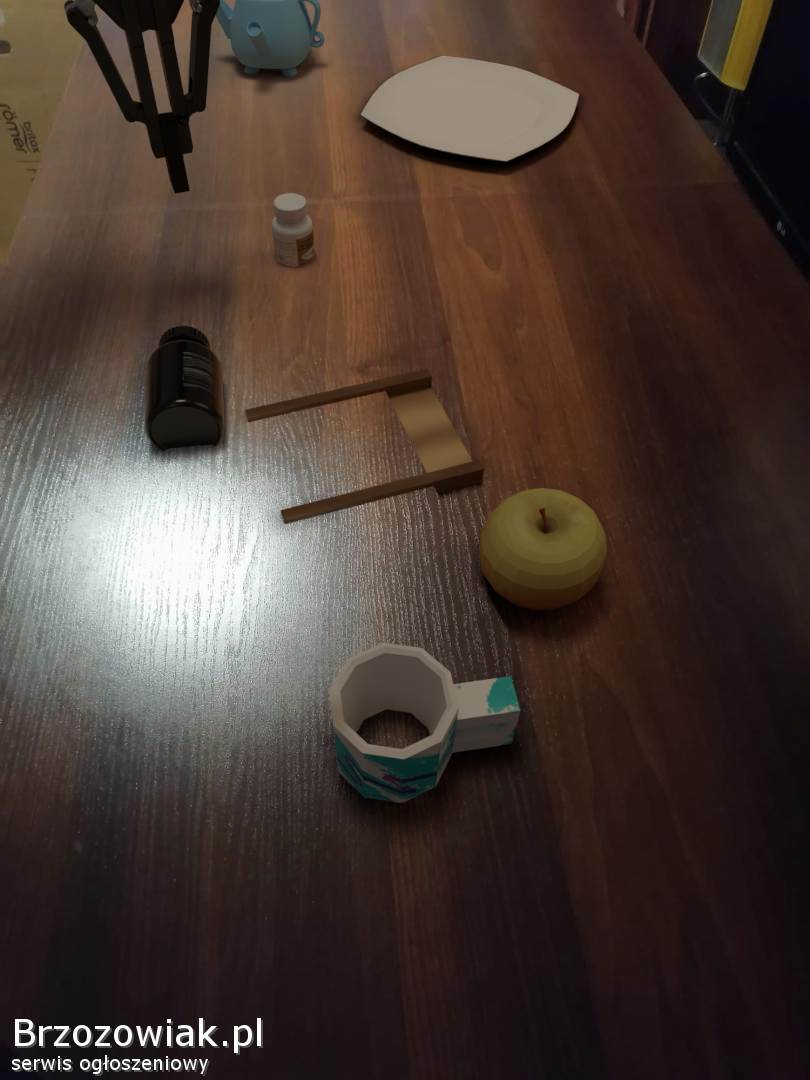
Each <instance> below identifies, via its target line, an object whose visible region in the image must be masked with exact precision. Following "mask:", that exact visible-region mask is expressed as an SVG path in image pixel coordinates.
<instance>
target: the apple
mask: <svg viewBox="0 0 810 1080" xmlns="http://www.w3.org/2000/svg"><path fill="white" fill-rule="evenodd" d="M607 550H608V549H607V533H606V532H605V530H604V527H603V525H602V523H601V522H600V520H599V518H598V516H597V514H596V512H595V511H594V510H593V509H592V508H591V506H588V505H587V504H586V503H585V502H584V501H583V500H582V499H581V498H579V497H578V496H575V495H573V494H571V493H568V492H567V491H566V492H565V491H563V490H561V489H555V488H554V489H553V488H547V487H540V488H539V487H538V488H532V489H526V490H522V491H519V492H517V493H515V494H513V495H511V496H509V497H507V498H504V499H503V501H502V502H500V503H499V504H498V505H497V506H496V507H495V509H493V510H492V512H491V513H490V514H489V515H488V516H487V517H486V518H485V521H484V524H483V526H482V530H481V533H480V536H479V541H478V557H479V564H480V571H481V573H482V574H483V575H484V577H485V579H486V580H487V581H488V583H489V585H490V586H491V587H492V589H493V590H494V591H495V592H496V594H498V595H499V596H500V597H502V598H504V600H506V601H508V602H509V603H510V604H512V605H515V606H518V607H521V608H524V609H528V610H531V611H555V610H556V609H560V608H563V607H565V606H569V605H571V604H573V603H575V602H577V601H579V600H580V599H581V598H582V597H583V596H585V595H586V594H587V593H589V592H590V591H592V589H593V588H594V587H595V585H596V583H597V581H598V579H599V577H600V575H601V572H602V570H603V568H604V566H605V564H606V559H607V554H608V551H607Z"/></svg>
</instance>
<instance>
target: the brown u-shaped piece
mask: <svg viewBox="0 0 810 1080" xmlns="http://www.w3.org/2000/svg"><path fill="white" fill-rule="evenodd" d="M432 381H433V376H432V373H431V372H430V370H429V368H425V369H419V370H416V371H411V372H405V373H403V374H398V375H394V376H389V377H385V378H384V377H383V378H379V379H376V380H370V381H366V382H363V383H357V384H354V385H353V384H352V385H349V386H345V387H340V388H336V389H331V390H327V391H322V392H318V393H313V394H309V395H304V396H299V397H296V398H291V399H288V400H282V401H277V402H274V403H269V404H265V405H264V404H263V405H261V406H256V407H250V408H247V409H244V413H245V416H246V419H247V421H248V422H249V423H250V422H253V421H258V420H263V419H266V418H270V417H275V416H280V415H283V414H288V413H294V412H298V411H302V410H307V409H310V408H314V407H319V406H323V405H327V404H328V405H329V404H332V403H337V402H340V401H341V402H342V401H345V400H349V399H354V398H359V397H363V396H367V395H371V394H376V393H380V392H385V394H386V395H387V398H388V399H389V401H390V404H391V405H392V407H393V409H394V411H395V413H396V415H397V417H398V419H399V421H400V423H401V425H402V427H403V428H404V431H405V433H406V434H407V437H408V439H409V440H410V443H411V444H412V446H413V449H414V451H415V452H416V455H417V456H418V459H419V461H420V462H421V464H422V465H423V468H424V470H425V472H426V473H421V474H417V475H413V476H409V477H406V478H401V479H398V480H393V481H390V482H386V483H381V484H378V485H374V486H369V487H365V488H363V489H357V490H354V491H350V492H347V493H342V494H339V495H335V496H331V497H326V498H323V499H319V500H315V501H310V502H306V503H303V504H299V505H296V506H292V507H288V508H283V509H280V516H281V518H282V521H283V524H289V523H292V522H297V521H301V520H304V519H308V518H312V517H316V516H320V515H324V514H327V513H328V514H329V513H331V512H336V511H339V510H343V509H347V508H350V507H355V506H359V505H363V504H367V503H370V502H375V501H379V500H383V499H385V498H386V499H387V498H390V497H393V496H397V495H401V494H406V493H410V492H413V491H416V490H417V491H418V490H421V489H424V488H428V487H432V486H433V488H434V490H435V491H436V494H437V495H440V494H443V493H448V492H451V491H454V490H460V489H463V488H467V487H470V486H474V485H478V484H482V483H484V474H485V473H484V472H485V468H484V465H483V464H482V462H481V461H480V459H475V460H473V459H472V458H471V455H470V454H469V452H468V450H467V449H466V447H465V445H464V443H463V441H462V440H461V437H460V436H459V434H458V433H457V430H456V429H455V427H454V426H453V424H452V422H451V420H450V418H449V416H448V414H447V413H446V410H445V409H444V407H443V406H442V404H441V402H440V400H439V398H438V396H437V394H436V393H435V391H434V389H433V388H432V385H433V384H432V383H433V382H432Z"/></svg>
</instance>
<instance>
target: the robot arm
mask: <svg viewBox="0 0 810 1080" xmlns="http://www.w3.org/2000/svg"><path fill="white" fill-rule="evenodd" d="M184 2H185V0H66V1H65V2H64V5H63V8H64V13H65V16H66V18H67V22H68V24H69V26H71V27H72V28H73V29H74V30H75V32H77V33H78V34H79V36H81V38H82V39H84V41H85V42H86V43H87V46H88V47H89V50H90V51H91V54H92V55H93V58H94V59H95V61H96V64H97V66H98V67H99V69H100V71H101V73H102V76H103V78H104V80H105V81H106V83H107V86H108V87H109V89H110V91H111V93H112V95H113V97H114V99H115V102H116V103H117V105H118V107H119V109H120V111H121V113H122V115H123V117H124V119H125V120H126V122H128V123H131V124H132V123H135V122H138V123H141V124H143V125H144V126H145V127H146V132H147V136H148V142H149V145H150V148H151V152H152V154H153V156H154V158H155V159H156V160H157V159H163V158H165V159H164V160H165V164H166V169H167V173H168V178H169V182H170V184H171V187H172V189H173V192H174V194H175V195H177V194H182V193H187V192H190V191H191V190H190V185H189V184H190V183H189V178H188V175H187V168H186V164H185V159H184V155H187V154H192V153H193V150H194V143H193V139H192V133H191V128H190V118H191V116H193V114H195V113H203V112H204V111H205V110H206V107H207V97H208V83H209V68H210V53H211V52H210V51H211V37H212V25H213V23H214V20H215V18H216V13H217V11H218V8H219V6H220V0H188V5H189V7H190V9H191V10H192V13H191V25H190V26H191V27H190V43H189V44H190V45H189V61H188V63H189V64H188V81H187V82H188V83H187V93H185V92H184V87H183V81H182V76H181V70H180V66H179V59H178V55H177V49H176V46H175V44H176V43H175V41H176V40H175V35H174V30H173V24H174V23H175V21H176V19H177V18H178V15H179V13H180V11H181V8H182V6H183V4H184ZM96 6H97V7H98V8H99V9H101V11H102V12H103V13H104V14H105V15H106V16H107V17H108V18H109V19H110V20H111V21H112V22H113V23H114V24H115V25H116V26H117V27H118V28H120V29H121V30H123V31H124V35H125V39H126V42H127V48H128V52H129V57H130V62H131V66H132V70H133V71H132V72H133V75H134V79H135V85H136V88H137V93H138V99H139V101H137V100H133V98H132V96H131V94H130V92H129V90H128V88H127V86H126V84H125V81H124V79H123V77H122V75H121V73H120V71H119V68H118V67H117V65H116V63H115V60H114V59H113V57H112V54H111V53H110V50H109V48H108V46H107V44H106V41H105V40H104V38H103V36H102V34H101V32H100V30H99V28H98V26H97V25H98V22H99V16H98V14H97V11H96V10H95V7H96ZM147 31H154V33H155V37H156V42H157V48H158V52H159V57H160V62H161V67H162V71H163V77H164V80H165V86H166V87H165V88H166V92H167V97H168V101H169V102H168V103H169V106H170V110H171V111H168V112H167V111H166V112H159V110H158V105H157V100H156V96H155V95H156V94H155V90H154V86H153V81H152V76H151V71H150V67H149V66H150V65H149V61H148V57H147V53H146V46H145V39H144V35H143V33H145V32H147Z"/></svg>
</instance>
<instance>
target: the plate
mask: <svg viewBox="0 0 810 1080" xmlns="http://www.w3.org/2000/svg"><path fill="white" fill-rule="evenodd" d="M579 97H580V94H579V92H576V91H574V90H572V89H570V88H568V87H566V86H564V85H562V84H560V83H557V82H555V81H553V80H551V79H549V78H546V77H545V76H542V75H538V74H536V73H533V72H532V71H529V70H526V69H522V68H519V67H515V66H510V65H507V64H504V63H503V64H502V63H498V62H491V61H487V60H480V59H474V58H467V57H459V56H451V55H441V56H438V57H434V58H432V59H430V60H427V61H423V62H421V63H418V64H415V65H413V66H410V67H409V68H407V69H404V70H402V71H400V72H398V73H396V74H394V75H393V76H391V77H390V78H388V79H387V80H386V81H384V82H383V83H381V85H380V86H378V88H377V89H376V90H375V91H374V93H373V94H372V95H371V96H370V98H369V99H368V101H367V103H366V104H365V106H364V108H363V109H362V112H361V113H360V117H361V118H363V119H364V120H366V121H368V122H370V123H371V124H373V125H374V126H376V127H378V128H380V129H382V130H383V131H385V132H387V133H389V134H391V135H393V136H396V137H397V138H400V139H402V140H404V141H405V142H409V143H412V144H414V145H416V146H419V147H422V148H426V149H430V150H432V151H438V152H440V153H441V152H442V153H446V154H452V155H455V156H460V157H467V158H472V159H478V160H484V161H493V162H499V163H509V162H511V161H513V160H515V159H518V158H519V157H522V156H524V155H526V154H528V153H530V152H532V151H533V152H534V150H538V149H539V148H540V147H542V146H544V145H546V144H548V143H549V142H551V141H553V140H554V139H555V138H556V137H558V136H559V135H560V134H561V133H562V132H563V131H564V130H565V129H566V128H567V127H568V125H569V124H570V122H571V120H572V118H573V116H574V115H575V111H576V108H577V105H578V101H579Z"/></svg>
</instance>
